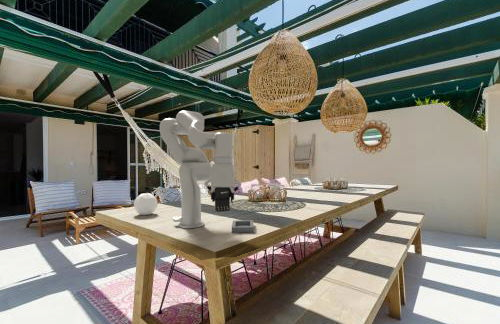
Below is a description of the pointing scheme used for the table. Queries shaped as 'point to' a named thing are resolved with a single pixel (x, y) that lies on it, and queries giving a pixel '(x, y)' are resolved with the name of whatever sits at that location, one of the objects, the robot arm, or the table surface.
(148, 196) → the geodesic sphere
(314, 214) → the table surface
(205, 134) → the robot arm
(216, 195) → the battery
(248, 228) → the dock
